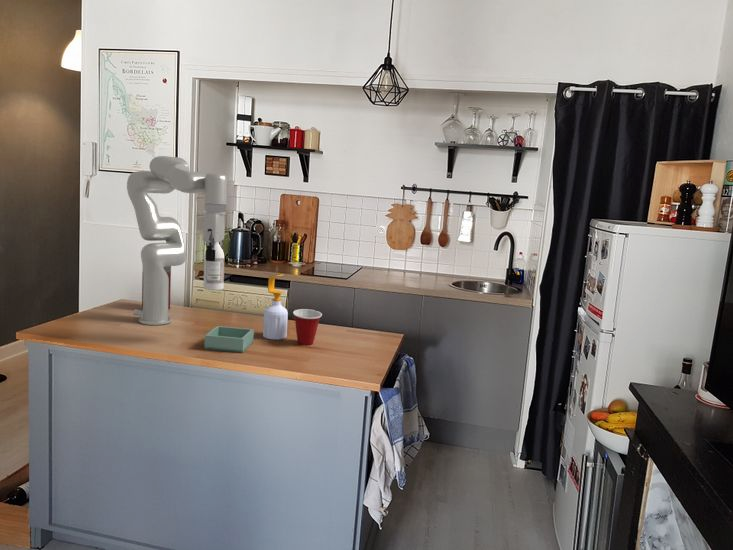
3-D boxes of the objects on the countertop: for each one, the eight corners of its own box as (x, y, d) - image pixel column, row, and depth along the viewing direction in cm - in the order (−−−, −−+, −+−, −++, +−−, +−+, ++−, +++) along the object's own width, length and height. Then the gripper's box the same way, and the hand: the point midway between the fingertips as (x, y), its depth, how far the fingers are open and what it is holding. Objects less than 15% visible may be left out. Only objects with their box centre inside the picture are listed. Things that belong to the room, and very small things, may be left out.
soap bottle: (279, 341, 218) (282, 277, 214) (258, 337, 221) (261, 274, 217) (290, 336, 227) (294, 274, 223) (270, 332, 230) (273, 271, 226)
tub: (204, 349, 202) (204, 335, 201) (217, 339, 215) (217, 326, 214) (242, 352, 201) (243, 338, 200) (253, 342, 214) (253, 329, 213)
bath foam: (226, 290, 207) (228, 234, 204) (208, 291, 203) (209, 234, 200) (218, 286, 213) (219, 232, 210) (200, 288, 208) (201, 232, 205)
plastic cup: (297, 348, 211) (299, 316, 209) (287, 340, 220) (288, 309, 219) (324, 346, 216) (326, 315, 214) (313, 338, 225) (315, 308, 224)
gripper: (213, 208, 213) (212, 256, 215) (195, 209, 195) (194, 261, 198) (233, 209, 212) (232, 257, 215) (217, 210, 195) (216, 263, 197)
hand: (214, 259), depth 206 cm, fingers closed on bath foam, 7 cm apart
